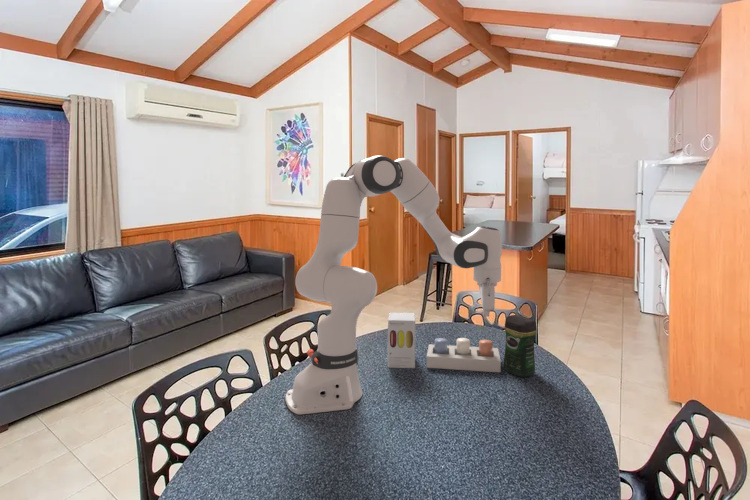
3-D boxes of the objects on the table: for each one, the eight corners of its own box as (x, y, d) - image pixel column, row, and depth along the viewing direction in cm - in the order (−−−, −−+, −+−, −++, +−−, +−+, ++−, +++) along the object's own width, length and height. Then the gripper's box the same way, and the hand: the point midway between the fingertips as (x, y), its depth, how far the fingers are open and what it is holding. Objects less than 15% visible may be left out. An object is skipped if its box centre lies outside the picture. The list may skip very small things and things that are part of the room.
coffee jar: (539, 374, 142) (541, 318, 139) (522, 380, 137) (524, 323, 135) (515, 363, 150) (517, 311, 147) (498, 369, 146) (500, 315, 143)
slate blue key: (434, 353, 150) (434, 342, 149) (434, 348, 154) (434, 337, 153) (447, 354, 149) (447, 343, 148) (447, 349, 153) (447, 338, 153)
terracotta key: (479, 355, 147) (479, 343, 146) (478, 350, 151) (478, 339, 150) (492, 356, 146) (493, 344, 145) (491, 350, 150) (492, 339, 150)
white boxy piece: (426, 367, 148) (426, 356, 147) (428, 354, 158) (428, 344, 158) (500, 372, 143) (500, 360, 142) (497, 358, 154) (497, 348, 153)
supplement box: (387, 368, 148) (386, 320, 145) (388, 357, 157) (387, 311, 154) (415, 368, 147) (415, 320, 144) (415, 357, 156) (415, 311, 153)
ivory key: (456, 353, 148) (456, 342, 148) (456, 348, 153) (456, 337, 152) (469, 354, 147) (469, 342, 147) (469, 349, 152) (469, 338, 151)
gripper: (500, 282, 134) (498, 326, 136) (494, 268, 154) (493, 306, 156) (478, 282, 135) (478, 325, 137) (476, 268, 155) (475, 306, 157)
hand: (486, 315), depth 147 cm, fingers closed
